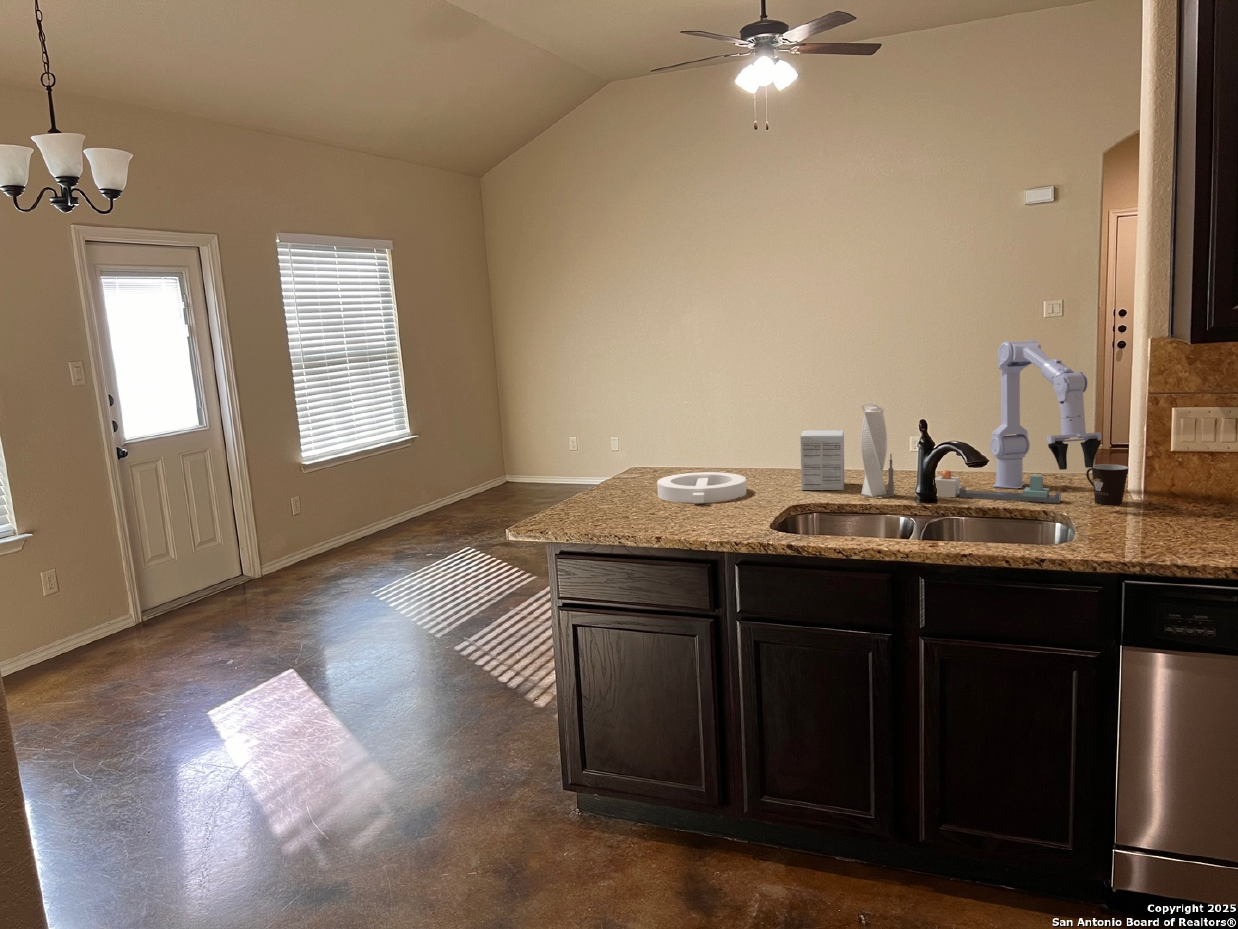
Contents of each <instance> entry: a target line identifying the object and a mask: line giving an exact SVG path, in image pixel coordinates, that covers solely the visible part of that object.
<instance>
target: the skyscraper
mask: <svg viewBox="0 0 1238 929" xmlns="http://www.w3.org/2000/svg"><path fill="white" fill-rule="evenodd" d="M860 406H861V408H862V411H863V414H864V415H863V419H862V425H861V433H860V454H861V459H862V461H861V462H862V466H863V471H864V475H865V476H864V478H863V479H864V480H863V484H862V487H861V488H862V489H861V494H862V495H861V494H860V495H861V496H863V495H866V496H865V497H867V496H870V497H869V498H871V497H876V498H878V497H886V498H890V496H892V497H895V496H896V493H894V491H895V490H894V489H895V482H894V470H895V469H894V468H893V459H892V453H890V454H889V455H890V456H889V458H890V459H889V467H888V469H887V470H888V482H887V488H886V484H885V480H884V476H883V472H884V467H885V463H886V457H887V452H888V451H887V450H888V433H887V428H886V422H885V416H884V407H880V406H878V405H877V404H874V403H867V402H866V403H861V405H860ZM864 406H868V407H864ZM887 490H888V492H887ZM894 495H895V496H894Z"/></svg>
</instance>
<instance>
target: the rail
mask: <svg viewBox="0 0 1238 929" xmlns="http://www.w3.org/2000/svg"><path fill="white" fill-rule="evenodd" d="M958 497H959V498H961V497H963V498H964V499H965V498H966V499H977V498H981V500H993V499H998V501H1009V500H1021V501H1020V502H1025V501H1033V502H1032V503H1040V502H1043V503H1044V504H1056V503H1058V504H1060V503H1061V500H1062V499H1061V497H1062V491H1056V492H1055V494H1049V495H1048V496H1047V498H1045V497H1028V496H1023V492H1005V491H992V490H991V491H989V490H973V489H967V486H961V487H959V495H958ZM999 499H1000V500H999Z"/></svg>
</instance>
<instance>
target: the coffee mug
mask: <svg viewBox="0 0 1238 929" xmlns="http://www.w3.org/2000/svg"><path fill="white" fill-rule="evenodd" d="M1090 471H1091V473H1092V480H1091V477H1090V474H1089V473H1090ZM1128 472H1129V467H1128V466H1126V465H1121V464H1111V463H1110V464H1109V463H1107V464H1100V463H1099V464H1093V467H1092V468H1087V470H1086V473H1085V475H1086V478H1087V480H1088V482H1089V483H1090V485H1091V486H1092V487H1093V495H1094V504H1096V503H1097V504H1096V505H1099V504H1101V505H1100V506H1105V505H1118V506H1121V505H1120V504H1123V501H1124V494H1125V490H1126V483H1127V477H1128Z"/></svg>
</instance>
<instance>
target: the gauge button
mask: <svg viewBox="0 0 1238 929" xmlns="http://www.w3.org/2000/svg"><path fill="white" fill-rule="evenodd" d="M941 474H942V475H941V476H942V478H945V479H949V478H951V477H952V471H951V470H949V469H947V470H944V469H943V470H942V473H941Z"/></svg>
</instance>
